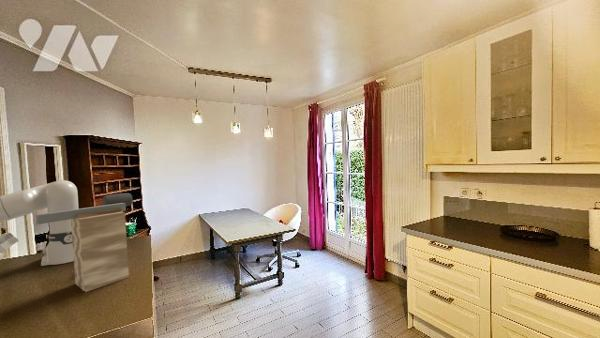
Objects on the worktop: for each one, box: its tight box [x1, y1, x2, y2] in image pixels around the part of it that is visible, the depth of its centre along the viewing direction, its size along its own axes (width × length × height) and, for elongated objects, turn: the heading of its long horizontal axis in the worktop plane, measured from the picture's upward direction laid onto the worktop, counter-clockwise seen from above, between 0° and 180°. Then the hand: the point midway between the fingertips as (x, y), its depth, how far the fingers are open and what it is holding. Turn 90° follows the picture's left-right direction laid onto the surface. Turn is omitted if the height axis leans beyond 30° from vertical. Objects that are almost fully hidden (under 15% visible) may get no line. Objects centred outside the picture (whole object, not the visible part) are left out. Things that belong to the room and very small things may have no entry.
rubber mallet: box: [101, 192, 133, 207], centre depth 143 cm, size 12×8×30 cm, turn 142°
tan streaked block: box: [71, 209, 130, 293], centre depth 103 cm, size 12×14×27 cm
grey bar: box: [35, 203, 127, 225], centre depth 99 cm, size 3×26×3 cm, turn 143°
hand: (14, 236), depth 84 cm, fingers open, 8 cm apart
